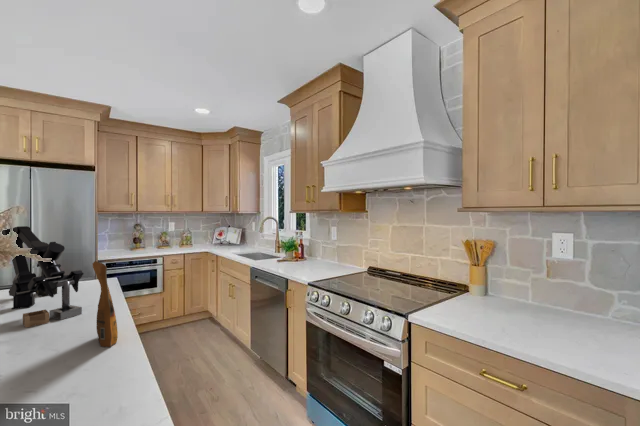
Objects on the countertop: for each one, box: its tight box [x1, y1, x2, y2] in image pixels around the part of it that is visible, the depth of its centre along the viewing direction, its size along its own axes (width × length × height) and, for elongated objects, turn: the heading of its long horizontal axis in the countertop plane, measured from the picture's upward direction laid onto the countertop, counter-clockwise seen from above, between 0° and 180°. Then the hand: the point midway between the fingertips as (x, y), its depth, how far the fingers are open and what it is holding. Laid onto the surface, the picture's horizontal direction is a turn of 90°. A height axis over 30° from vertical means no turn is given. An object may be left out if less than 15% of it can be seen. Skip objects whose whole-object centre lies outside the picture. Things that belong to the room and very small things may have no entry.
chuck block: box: [48, 304, 83, 321], centre depth 132 cm, size 8×8×3 cm
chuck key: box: [56, 280, 75, 311], centre depth 132 cm, size 6×3×15 cm, turn 158°
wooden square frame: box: [22, 309, 50, 328], centre depth 123 cm, size 7×7×4 cm
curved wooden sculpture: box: [92, 260, 119, 348], centre depth 107 cm, size 7×19×28 cm, turn 39°
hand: (65, 294), depth 132 cm, fingers open, 9 cm apart
